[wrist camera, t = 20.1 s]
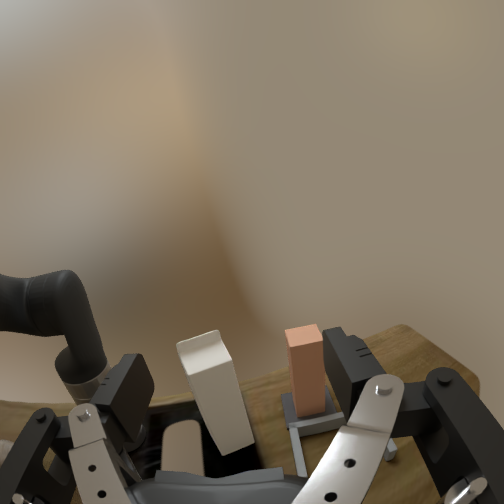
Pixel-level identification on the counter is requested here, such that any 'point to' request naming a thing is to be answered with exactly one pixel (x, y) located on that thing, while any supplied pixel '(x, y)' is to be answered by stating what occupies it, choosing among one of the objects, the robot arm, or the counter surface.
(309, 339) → the post
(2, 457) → the rhinoceros figurine
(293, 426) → the stall
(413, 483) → the counter surface
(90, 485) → the robot arm
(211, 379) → the milk
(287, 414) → the mat
